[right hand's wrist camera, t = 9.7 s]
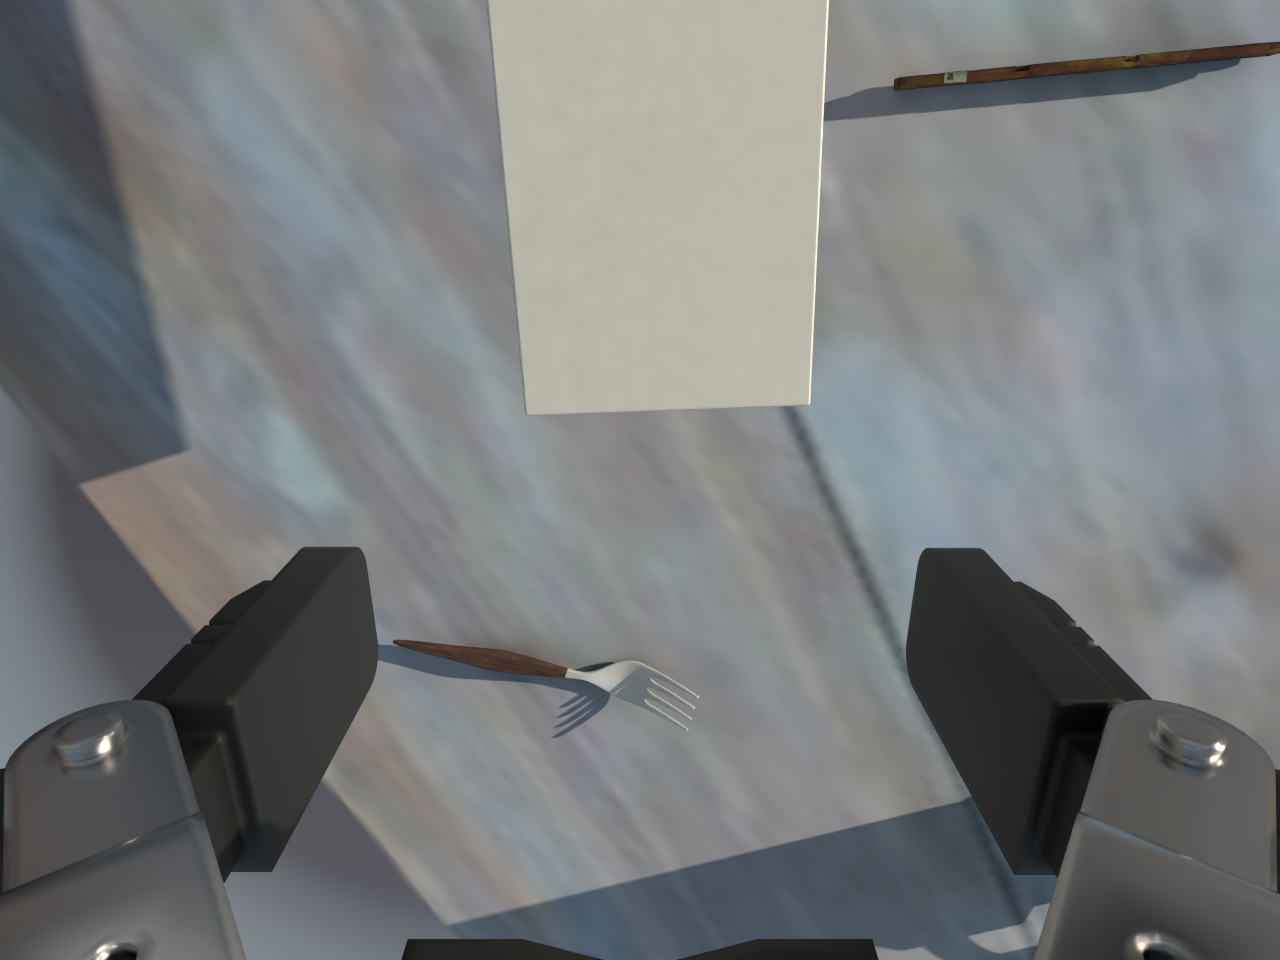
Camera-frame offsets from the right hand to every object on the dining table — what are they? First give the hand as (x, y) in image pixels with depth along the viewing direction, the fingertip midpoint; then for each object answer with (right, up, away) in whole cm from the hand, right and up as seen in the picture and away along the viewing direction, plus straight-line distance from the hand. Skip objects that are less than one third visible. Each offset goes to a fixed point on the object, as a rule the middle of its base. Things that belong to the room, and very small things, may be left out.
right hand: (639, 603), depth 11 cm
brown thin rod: (+18, +19, +20) cm, 32 cm away
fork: (-5, -8, +30) cm, 31 cm away
